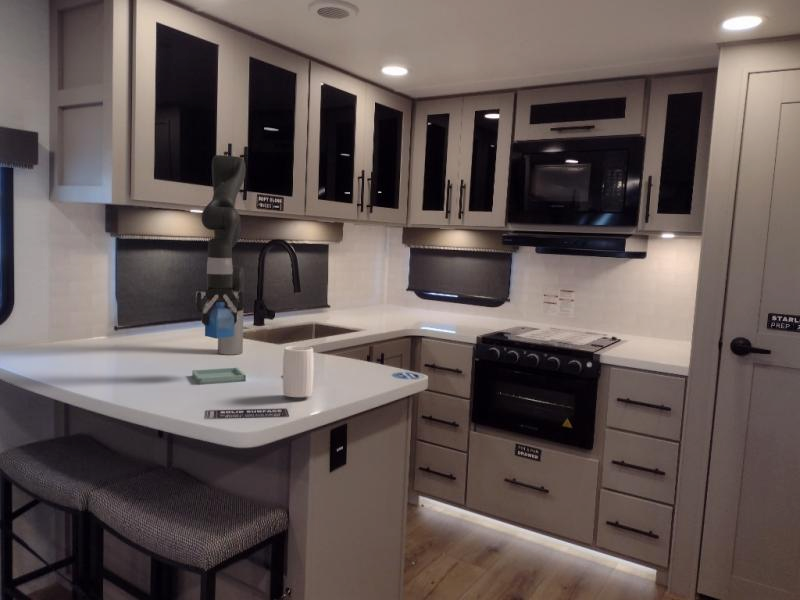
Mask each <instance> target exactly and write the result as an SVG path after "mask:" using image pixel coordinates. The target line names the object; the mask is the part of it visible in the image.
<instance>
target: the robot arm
mask: <svg viewBox="0 0 800 600" xmlns="http://www.w3.org/2000/svg"><path fill="white" fill-rule="evenodd" d="M245 161H246V160H244V158H242V157H240V156H234V155H222V154H216V155H213V157H212V161H211V177H212V178H211V179H212V189H213V196H212V199H211V200H210V202H208V204H207V205H206V206H205V207H204V209H203V210H202V215H201V223H202V226H203V227H204V228H205V229H207V230H211V231H213V233H214V238H213V237H212V238H210V239H208V242H207V245H208V246H207V263H206V291H196V292H195V305H194V308H195V311H197V312H199V313H201V324H203V325H204V327H205V326H207V313H208V311H209V310H210V308H212V307H213V306H215V305H216V302H217V299H218V298H224V301H223V302H225V308H227V309H229V310H230V311H231V313H232V314H233V316H234V337H226V338H217V353H218V354H219V355H224V356H225V355H229V356H230V355H240V354H243V351H244V350H243V349H244V291H245V290H244V289H245V269H244V268H243V266H241V265H240V266H239V265H233V256H232V255H233V253H232V252H233V251H232V249H233V248H234V247H235V245H236V244H237V243H238V240H239V239H240V237H241V234H242V233H241V230H242V229H241V227H242V226H241V225H242V224H241V217H240V214H239V212H238V210H237V208H236V207H235V205H236V201H237V195H238V194H239V192H240V190H241V187H242V186H243V183H244V182H245V178H246V163H245ZM204 297H206V299H208V300H207V301H206V303H205V304H204V305H203V307H202V306H201V305H202V299H204Z"/></svg>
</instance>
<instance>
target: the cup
mask: <svg viewBox="0 0 800 600" xmlns="http://www.w3.org/2000/svg"><path fill="white" fill-rule="evenodd" d="M283 349H284V350H283V357H282V390H283V395H284V396H285V397H286V396H287V397H290V398H305V397H310V396H311V395H313V388H314V387H313V386H314V371H315V370H314V367H315V366H314V361H315V360H314V348H313V347H311V346H307V345H289V346H286V347H284V348H283Z"/></svg>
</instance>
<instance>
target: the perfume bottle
mask: <svg viewBox="0 0 800 600" xmlns="http://www.w3.org/2000/svg"><path fill="white" fill-rule="evenodd" d="M223 301H224V298H218V299H217V302H216V305H214V307H210V308H209V310H208V311H207V326H205V325H204V337H209V338H212V339H217V340H218V338H226V337H234V316H233V314H232V313H231V311H230V310H229V309H227V308H225V302H223Z"/></svg>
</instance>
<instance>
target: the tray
mask: <svg viewBox="0 0 800 600" xmlns="http://www.w3.org/2000/svg"><path fill="white" fill-rule="evenodd" d="M191 376H192V377H193V379H194V380H195V382H196V384H198V385H199V386H200V385H210V384H211V385H213V384H224V383H238V382H240V383H241V382H247V381H246V380H247V379H246V378H247V377H246V374H245V373H244V372H243V371H241V369H239V368H238V367H225V368H210V369H209V368H207V369H194V370H192V375H191Z"/></svg>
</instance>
